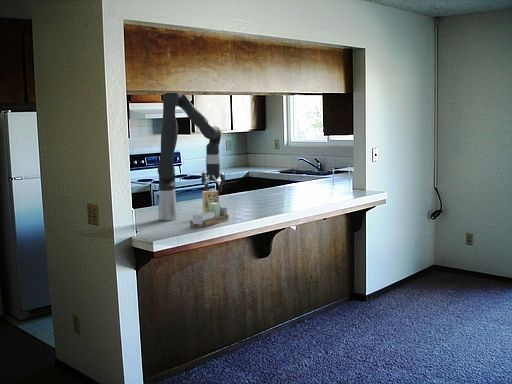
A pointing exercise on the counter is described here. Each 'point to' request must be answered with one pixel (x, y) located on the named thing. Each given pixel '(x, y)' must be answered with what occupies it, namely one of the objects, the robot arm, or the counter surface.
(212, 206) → the block
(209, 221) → the channel
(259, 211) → the counter surface
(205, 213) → the jaw
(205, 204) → the candy box
